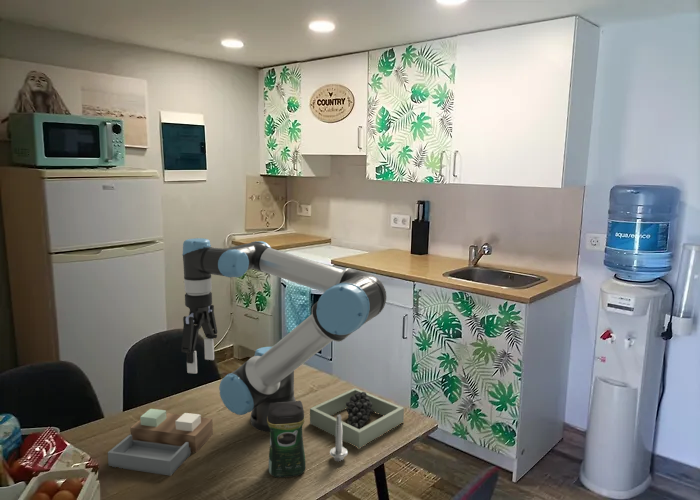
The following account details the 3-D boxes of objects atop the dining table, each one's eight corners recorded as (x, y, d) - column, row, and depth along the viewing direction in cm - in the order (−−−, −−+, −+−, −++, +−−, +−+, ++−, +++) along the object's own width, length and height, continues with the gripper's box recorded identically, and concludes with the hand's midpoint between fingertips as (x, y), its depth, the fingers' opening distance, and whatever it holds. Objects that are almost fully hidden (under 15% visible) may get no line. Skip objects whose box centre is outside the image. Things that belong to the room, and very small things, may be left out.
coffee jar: (304, 459, 138) (303, 395, 135) (306, 477, 131) (306, 409, 128) (268, 462, 137) (266, 397, 134) (268, 480, 129) (266, 411, 126)
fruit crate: (403, 422, 159) (403, 407, 158) (359, 449, 144) (359, 432, 143) (354, 401, 172) (355, 387, 171) (310, 423, 158) (309, 408, 157)
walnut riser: (212, 434, 151) (212, 418, 150) (195, 452, 141) (195, 436, 140) (151, 426, 155) (150, 411, 154) (131, 443, 145) (130, 427, 145)
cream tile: (201, 422, 148) (200, 414, 147) (192, 431, 143) (191, 423, 142) (185, 420, 149) (184, 412, 148) (175, 429, 144) (175, 421, 143)
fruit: (361, 408, 149) (369, 385, 163) (335, 413, 151) (345, 390, 165) (370, 435, 150) (377, 410, 164) (344, 440, 152) (353, 415, 166)
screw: (345, 453, 142) (349, 462, 137) (328, 454, 141) (331, 464, 136) (346, 409, 140) (349, 417, 135) (328, 410, 139) (331, 419, 134)
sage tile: (166, 418, 150) (166, 410, 149) (156, 426, 145) (156, 418, 145) (151, 416, 151) (150, 408, 150) (140, 424, 146) (140, 416, 146)
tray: (190, 454, 140) (190, 440, 140) (170, 475, 131) (170, 461, 130) (132, 446, 144) (131, 433, 144) (108, 466, 135) (107, 452, 134)
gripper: (205, 282, 159) (207, 351, 163) (164, 301, 138) (168, 379, 141) (227, 284, 158) (229, 353, 161) (190, 303, 136) (193, 382, 140)
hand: (201, 365), depth 151 cm, fingers open, 10 cm apart
